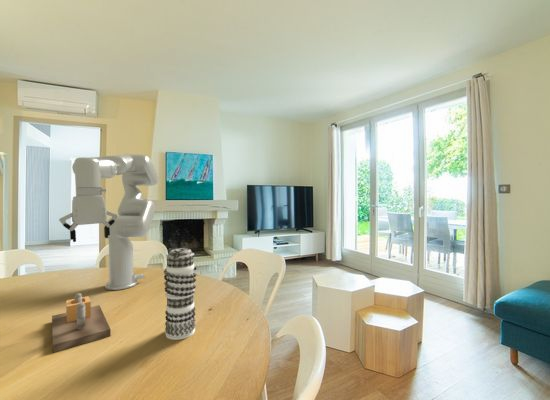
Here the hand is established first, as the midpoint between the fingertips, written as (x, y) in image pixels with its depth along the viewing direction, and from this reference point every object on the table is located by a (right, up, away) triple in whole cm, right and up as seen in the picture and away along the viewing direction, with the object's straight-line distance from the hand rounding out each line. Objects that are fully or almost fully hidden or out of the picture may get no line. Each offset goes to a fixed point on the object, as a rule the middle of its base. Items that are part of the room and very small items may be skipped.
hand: (90, 239), depth 97 cm
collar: (+4, -23, -11) cm, 26 cm away
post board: (+7, -25, -15) cm, 30 cm away
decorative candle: (+39, -26, -17) cm, 49 cm away
